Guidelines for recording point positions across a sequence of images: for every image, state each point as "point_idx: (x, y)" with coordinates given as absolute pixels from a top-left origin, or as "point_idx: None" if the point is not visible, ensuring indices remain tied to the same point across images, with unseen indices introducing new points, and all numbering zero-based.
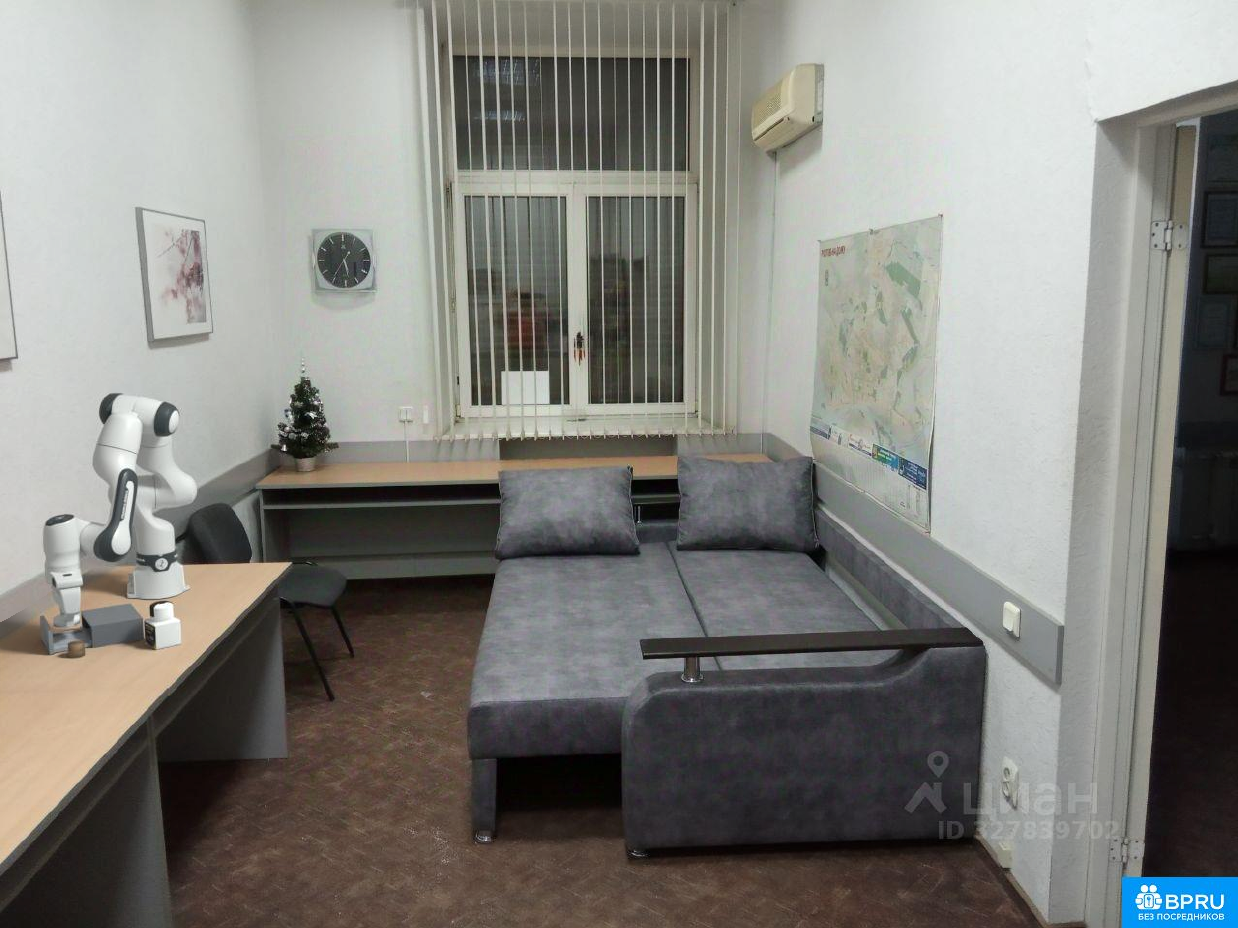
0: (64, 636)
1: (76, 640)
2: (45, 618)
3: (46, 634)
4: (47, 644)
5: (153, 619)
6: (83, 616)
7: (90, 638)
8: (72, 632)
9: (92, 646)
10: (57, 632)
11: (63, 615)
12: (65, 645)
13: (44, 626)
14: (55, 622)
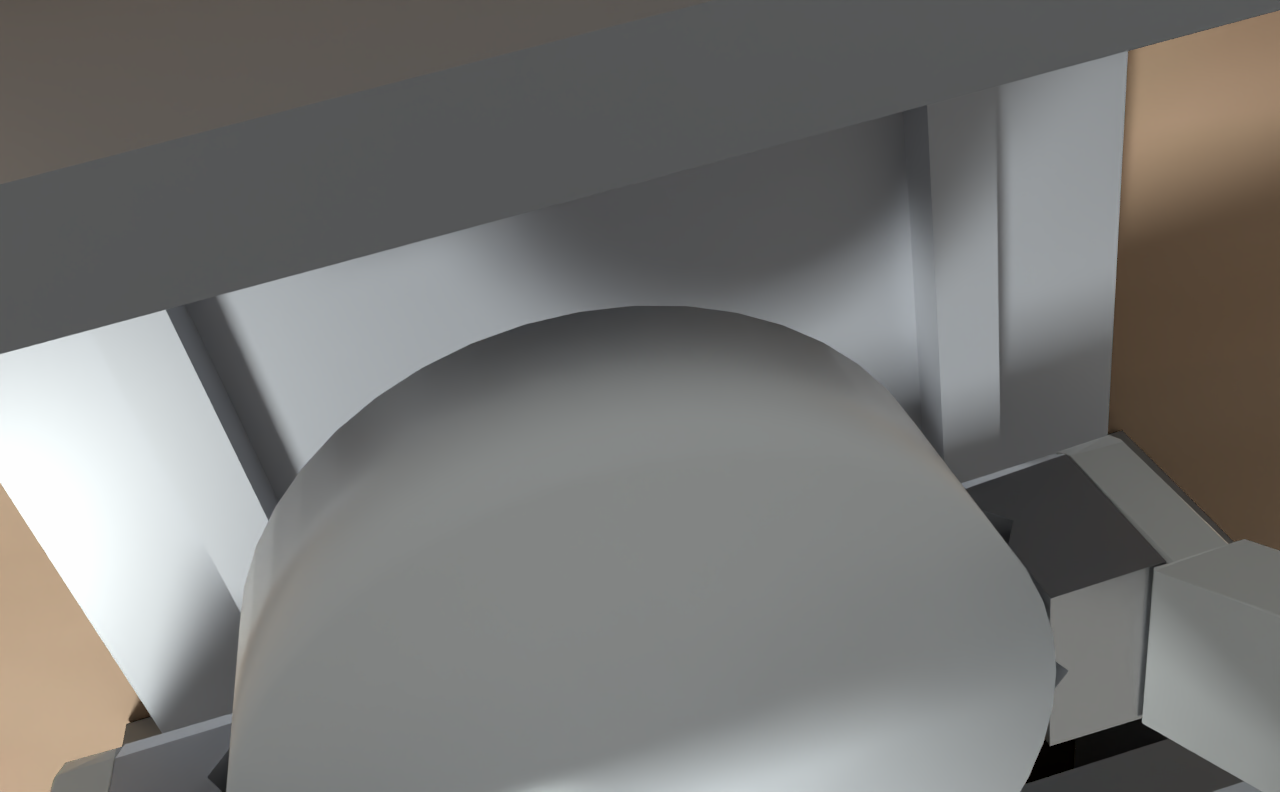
0: (774, 267)
1: (231, 586)
2: (1248, 13)
3: (2, 91)
4: (8, 12)
5: None
6: (1083, 778)
7: None
8: (926, 387)
9: (156, 727)
10: (994, 132)
11: (866, 687)
12: (91, 382)
13: (409, 46)
14: (370, 500)
